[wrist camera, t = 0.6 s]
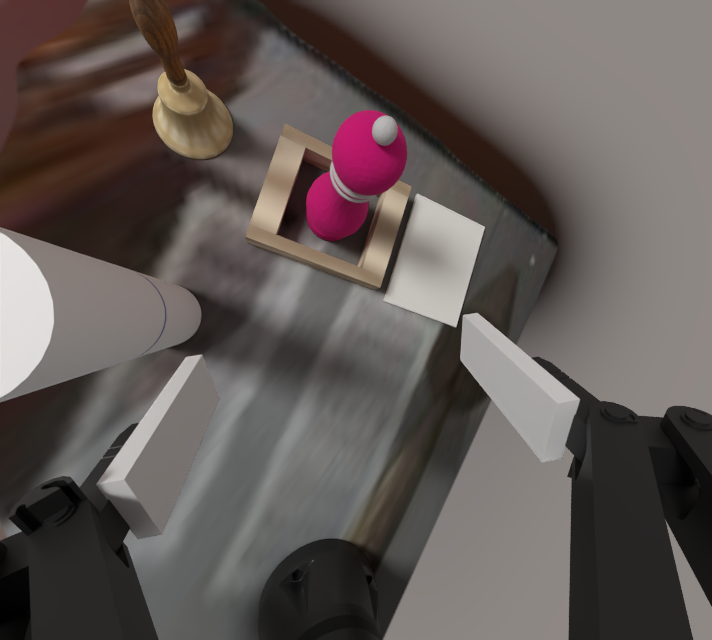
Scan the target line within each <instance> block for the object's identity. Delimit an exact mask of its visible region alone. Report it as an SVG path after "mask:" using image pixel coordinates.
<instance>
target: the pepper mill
mask: <svg viewBox="0 0 712 640" xmlns="http://www.w3.org/2000/svg"><path fill="white" fill-rule="evenodd" d="M406 160H407V146H406V141H405V137H404V135H403V132H402V130H401V129H400V127H399V126H398V124H397V123H396V122H395V120H394V119H393V118H392V117H390V116H387V115H386V114H384V113H381V112H378V111H373V110H366V111H361V112H357V113H355V114H353V115H352V116H350V117H349V118H348V119H346V120H345V121H344V122H343V124H342V125H341V126H340V128H339V130H338V131H337V133H336V135H335V138H334V141H333V146H332V162H331V166H330V171H329V172H326V173H324V174H323V175H321V176H320V177H318V178H317V179H316V180H315V181H314V182H313V184H312V186H311V188H310V189H309V191H308V194H307V199H306V208H307V211H306V218H307V222H308V225H309V227H310V229H311V230H312V232H313V233H314V234H315V235H316V236H318V237H319V238H321V239H323V240H327V241H337V240H340V239H342V238H344V237H346V236H349V235H351V234H353V233H355V232H356V231H357V230H358V229H359V228H360V227H361V226H362V224H363V223H364V221H365V219H366V217H367V213H368V207H369V201H370V200H372V199H373V198H374V197H375V196H376V195H379V194H382V193H384V192H386V191H387V190H389V189H390V188H391V187H392V186H394V185H395V184H396V182H397V181H398V180H399V178H400V176H401V175H402V173H403V171H404V168H405V164H406Z"/></svg>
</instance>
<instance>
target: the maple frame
mask: <svg viewBox="0 0 712 640" xmlns="http://www.w3.org/2000/svg"><path fill="white" fill-rule="evenodd" d="M302 161H305V162H308V163H310V164H312V165H314V166H316V167H318V168H320V169H322V170H325V171H327V172H329V171H330V166H331V162H332V147H331V146H329V145H327V144H325V143H323V142H321V141H319V140H317V139H315V138H313V137H311V136H309V135H307V134H305V133H303V132H301V131H299V130H297V129H295V128H293V127H291V126H289V125H287V124H284V127H283V130H282V133H281V136H280V139H279V141H278V144H277V147H276V150H275V153H274V156H273V159H272V161H271V164H270V167H269V170H268V173H267V176H266V179H265V182H264V184H263V187H262V190H261V193H260V196H259V199H258V202H257V204H256V207H255V210H254V213H253V216H252V219H251V222H250V225H249V227H248V230H247V233H246V236H245V237H246V241H247V243H249V244H251V245H254V246H257V247H259V248H262V249H265V250H267V251H270V252H273V253H276V254H278V255H281V256H284V257H286V258H289V259H292V260H294V261H297V262H300V263H302V264H305V265H308V266H310V267H313V268H316V269H318V270H321V271H324V272H326V273H329V274H332V275H335V276H337V277H340V278H343V279H345V280H348V281H351V282H353V283H356V284H359V285H361V286H364V287H367V288H369V289H372V290H373V289H377V288H380V287H381V284H382V281H383V278H384V274H385V271H386V268H387V265H388V261H389V258H390V255H391V252H392V248H393V245H394V242H395V239H396V236H397V232H398V229H399V226H400V223H401V219H402V216H403V213H404V210H405V206H406V203H407V200H408V197H409V194H410V190H411V186H409V185H407V184H405V183H403V182H401V181H399V180H398V181H397V182H396V184H395V185H394V186H392V187H391V188H390V189H389V190H387V191H386V192H384V193H382V194H379V195H377V196H380V197H379V200H378V203H377V206H376V210H375V213H374V216H373V219H372V222H371V225H370V228H369V232H368V235H367V238H366V241H365V244H364V247H363V250H362V254H361V257H360V260H359V263H358V266H355V265H353V264H350V263H348V262H345V261H342V260H340V259H337V258H335V257H332V256H330V255H327V254H325V253H322V252H319V251H317V250H314V249H312V248H309V247H307V246H304V245H302V244H299V243H296V242H294V241H291V240H289V239H286V238H284V237H281V236H278V235H277V234H278V231H279V229H280V226H281V223H282V220H283V217H284V214H285V211H286V208H287V205H288V202H289V199H290V196H291V193H292V190H293V187H294V185H295V182H296V179H297V176H298V173H299V170H300V167H301V164H302Z"/></svg>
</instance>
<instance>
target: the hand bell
mask: <svg viewBox="0 0 712 640" xmlns="http://www.w3.org/2000/svg"><path fill="white" fill-rule="evenodd" d="M129 2H130V7H131V11H132V14H133V17H134V19H135V21H136V23H137V25H138V27H139V29H140V31H141V33H142V35H143V36H144V38H145V39H146V41H147V42H148V44H149V45H150V46H151V48H152V49H153V50H154V51H155V52H156V53H157V54H158V56H159V58H160V60H161V62H162V65H163V68H164V70H165V72H164V73H163V74H162V75H161V76H160V78H159V81H158V93H159V96H158V98H157V100H156V102H155V104H154V108H153V122H154V126H155V128H156V131H157V133H158V135H159V136H160V138H161V139H162V140H163V141H164V143H165V144H166V145H167V146H168V147H169V148H171V149H172V150H173V151H175V152H177V153H178V154H180V155H182V156H185V157H188V158H192V159H210V158H213V157H216V156H218V155H219V154H221V153H222V152H223V151H225V150H226V148H227V147H228V146H229V144H230V142H231V139H232V136H233V122H232V118H231V115H230V113H229V111H228V109H227V108H226V106H225V105H224V104H223V102H222V101H221V100H220V99H219V98H218V97H217V96H215V95H214V94H213V93H211V92H210V91H208V90H207V89H206V87H205V85H204V84H203V82H202V81H201V80H200V79H199V78H198V77H197V76H196V75H195V74H194V73H192V72H190V71H188V70H185V69H184V68H183V65H182V63H181V61H180V58H179V55H178V36H177V31H176V27H175V23H174V20H173V17H172V14H171V12H170V10H169V8H168V6H167V4H166V2H165V0H129Z"/></svg>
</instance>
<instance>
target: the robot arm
mask: <svg viewBox="0 0 712 640" xmlns="http://www.w3.org/2000/svg"><path fill="white" fill-rule="evenodd" d="M460 360H461V361H462V363H463V364H464V365H465V366H466V368H467V369H468V370H469V371H470V373H471V374H472V375H473V376H474V378H475V379H476V380H477V381H478V383H479V384H480V385H481V386H482V388H483V389H484V390H485V391H486V393H487V394H488V395H489V396H490V398H491V399H492V400H493V401H494V403H495V404H496V405H497V406H498V407H499V409H500V410H501V412H502V413H503V414H504V415H505V417H506V418H507V419H508V420H509V422H510V423H511V424H512V425H513V427H514V428H515V429H516V430H517V432H518V433H519V434H520V435H521V436H522V438H523V439H524V441H525V442H526V443H527V444H528V445H529V447H530V448H531V449H532V451H533V452H534V453H535V454H536V456H537V457H538V458H539V459H540V461H541V462H547V461H552V460H558V459H562V457H563V454H564V451H565V447H567V448H568V449H569V450H570V451H571V452H572V453H573V454H574V458H573V461H572V464H571V467H570V470H569V473H568V476H567V477H570V478H571V477H572V494H571V498H572V499H571V544H570V545H571V546H570V596H569V640H693V637H692V633H691V629H690V625H689V620H688V615H687V611H686V607H685V603H684V598H683V594H682V590H681V586H680V581H679V577H678V573H677V569H676V564H675V560H674V556H673V551H672V547H671V542H670V539H669V534H668V530H667V525H666V521H667V523H668V525H669V527H670V528H671V530H672V532H673V534H674V536H675V538H676V540H677V542H678V544H679V546H680V548H681V549H682V551H683V553H684V555H685V557H686V559H687V561H688V563H689V564H690V567H691V568H692V570H693V572H694V574H695V576H696V578H697V580H698V582H699V583H700V585H701V587H702V589H703V591H704V593H705V595H706V597H707V599H708V600H709V602H710V604H711V606H712V415H710V414H708V413H706V412H704V411H701V410H698V409H695V408H690V407H686V406H673V407H670V408H668V409H667V411H666V414H665V415H664V417H663V418H662V417H648V416H638V415H637V414H636V413H634V412H633V411H632V410H630V409H628V408H626V407H624V406H622V405H619V404H616V403H613V402H606V401H601V402H600V401H599V400H598V399H597V398H595V397H594V396H593V395H591V394H590V393H589V392H588V391H586V390H585V389H584V388H583V387H581V386H580V385H579V384H578V383H576V382H575V381H574V380H572V379H570V378H569V376H567V375H566V374H565V373H563V372H561V370H560V369H558V368H557V367H556V366H555V365H553V364H552V363H551V362H549V361H546V360H544V359H542V358H540V357H533V358H530V357H529V356H528V355H527V354H526V353H524V352H523V351H522V350H521V349H520V348H519V347H517V346H516V345H515V344H514V343H513V342H511V341H510V340H509V339H508V338H507V337H505V336H504V335H503V334H502V333H501V332H499V331H498V330H497V329H496V328H495V327H494V326H492V325H491V324H490V323H489V322H488V321H486V320H485V319H484V318H483V317H482V316H480V315H479V314H478V313H474V314H467V315H463V325H462V340H461V355H460ZM219 399H220V398H219V395H218V393H217V390H216V388H215V385H214V383H213V380H212V378H211V375H210V373H209V370H208V368H207V365H206V362H205V360H204V357H203V355H196V356H189V357H186V358H185V359H184V361H183V362H182V364H181V365H180V366H179V368H178V369H177V371H176V372H175V373H174V375H173V376H172V378H171V379H170V380H169V382H168V383H167V385H166V386H165V388H164V389H163V390H162V392H161V393H160V395H159V396H158V397H157V399H156V400H155V402H154V403H153V405H152V406H151V407H150V409H149V410H148V412H147V413H146V414H145V416H144V417H143V419H142V420H141V421H140V423H136V424H132V425H131V426H129V427H128V428H127V429H126V430H125V431H123V432H122V433H121V434H120V435H119V436H118V437H117V439H116V440H115V441H114V443H113V444H112V445H111V447H110V449H108V451H107V452H106V453H105V455H104V456H103V459H101V460H100V461H99V463H98V464H97V465H96V467H95V468H94V469H93V471H92V472H91V473H90V475H89V476H88V477H87V479H86V480H85V481H84V483H83V484H82V485H81V486H80V488H79V487H78V486H77V484H76V483H75V482H74V481H73V480H72V478H71V477H66V476H62V477H58V478H54V479H51V480H49V481H47V482H45V483H43V484H41V485H39V486H38V487H36V488H34V489H33V490H31V491H30V492H29V493H27V494H26V495H25V496H24V497H23V498H22V499H20V500H19V501H18V502H17V504H16V505H15V506H14V507H13V509H12V510H11V512H10V515H9V519H10V520H11V521H12V522H13V523H14V524H15V525H16V526H17V527H18V528H19V529H20V530H21V531H22V532H19V533H17V534H15V535H12V536H10V537H8V538H5V539H3V540H1V541H0V640H158V637H157V634H156V631H155V628H154V625H153V622H152V619H151V616H150V613H149V610H148V607H147V604H146V601H145V598H144V595H143V592H142V589H141V586H140V583H139V580H138V577H137V574H136V571H135V568H134V565H133V562H132V559H131V556H130V553H129V551H128V548H127V546H126V545H125V544H124V542H123V541H124V539H125V537H126V535H127V533H128V531H129V529H130V530H131V531H132V532H133V534H134V535H135V536H136V537H137V539H141V538H146V537H151V536H157V535H162V533H163V531H164V529H165V526H166V524H167V522H168V519H169V517H170V515H171V512H172V510H173V507H174V505H175V503H176V500H177V498H178V496H179V493H180V491H181V489H182V486H183V484H184V482H185V479H186V477H187V474H188V472H189V470H190V467H191V465H192V463H193V460H194V458H195V456H196V453H197V451H198V449H199V446H200V444H201V441H202V439H203V437H204V434H205V432H206V430H207V427H208V425H209V423H210V420H211V418H212V416H213V413H214V411H215V408H216V406H217V404H218V401H219ZM665 519H666V521H665ZM258 634H259V640H382V638H381V635H380V621H379V604H378V590H377V584H376V580H375V577H374V574H373V572H372V569H371V567H370V564H369V562H368V560H367V558H366V557H365V555H364V554H363V553H362V552H361V551H360V550H359V549H358V548H356V547H355V546H353V545H352V544H350V543H347V542H344V541H341V540H320V541H316V542H313V543H310V544H307V545H305V546H303V547H301V548H299V549H297V550H296V551H294V552H293V553H291V554H290V555H289V556H288V557H286V558H285V559H284V560H283V561H282V562H281V563H280V564H279V565H278V566H277V568H276V569H275V570H274V571H273V573H272V574H271V576H270V577H269V579H268V581H267V583H266V585H265V587H264V589H263V592H262V595H261V598H260V603H259V615H258Z"/></svg>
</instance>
